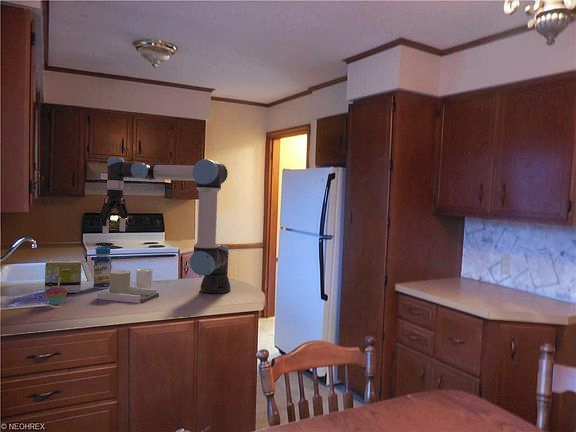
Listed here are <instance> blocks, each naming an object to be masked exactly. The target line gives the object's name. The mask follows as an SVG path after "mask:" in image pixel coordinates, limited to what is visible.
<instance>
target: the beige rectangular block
mask: <svg viewBox="0 0 576 432" xmlns="http://www.w3.org/2000/svg"><path fill="white" fill-rule="evenodd" d="M130 287H131V271H130V270H123V269H121V270H111V272H110V287H109V288H108V289H109V291H108V292H109V293H119V294H130ZM130 295H131V294H130Z"/></svg>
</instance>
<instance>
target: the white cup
mask: <svg viewBox="0 0 576 432" xmlns="http://www.w3.org/2000/svg"><path fill="white" fill-rule="evenodd" d="M153 272H154V270H153V269H152V268H151V269H150V268H141V269H136V270H135V274H136V275H135V276H136V277H135V279H136V280H135V282H136V288H146V289H152V284H153V283H152V282H153V275H154V274H153Z"/></svg>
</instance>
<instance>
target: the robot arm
mask: <svg viewBox="0 0 576 432" xmlns="http://www.w3.org/2000/svg"><path fill="white" fill-rule="evenodd" d="M106 168H107V172H106V173H107V181H106V183H107V184H106V185H107V186H106V188H107V190H106V196H107V198H104V199H103V204H102V207H101V210H100V213H99V219H100V220H101V221H102V233H103V234H109V230H110V229H109V228H110V227H109V226H110V223H109V222H110V221H109V220H110V219H109V217H110V216H111V213H112V211H113V210H114V209H116V210H117V212H118V214H119V216H120V217H119V232H126V219H128V218H129V213H128V208H127V204H126V199H125V198H124V190H123V189H124V185H125V184H124V179H125V178H126V179H127V178H128V179H129V178H131V179H140V180H141V179H142V180H143V179H144V180H148V181H149V180H150V181H151V180H157V181H158V180H161V181H163V180H165V181H188V182H189V181H190V182H191V181H193V182H195V189H196V190H197V191H198V206H197V207H198V212H197V215H198V216H197V238H196V239H197V240H196V241H197V242H195V244H194V245H193V253H192V255H190V257H189V267H190V269H191V271H193V273H194V274H196V275H198V276H203V277H202V281H201V283H200V286H199V287H200V289H199V290H200V292H202V293H205V294H215V295H216V294H224V293H225V294H226V293H229V292H231V289H232V288H231V283H230V280H229V274H228V271H229V270H228V269H229V268H228V267H229V254H230V252H229V247H228V246H226V245H218V244H217V242H216V241H217V218H218V217H217V216H218V215H217V212H218V211H217V210H218V192H220V190H221V188H222V184H223V183H225V181H227V179H228V176H229V175H228V174H229V172H228V169H227V167H226V165H225V164H223V162H220V161H216V160H213V159H210V158H203V159H201V160H199V161H196V163H195V164H194V165H177V164H176V165H169V164H146V163H144V162H137V161H136V162H125V160H124V158H122V157H109V158H108V159H107V166H106Z"/></svg>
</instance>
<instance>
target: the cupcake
mask: <svg viewBox="0 0 576 432" xmlns="http://www.w3.org/2000/svg"><path fill="white" fill-rule="evenodd" d="M60 279H61V278H60V277H59V281H58V287H51V288H49V289H47V290H46V291H45V290H44V296H45V297H46V298H47V301H48V302H49V304H50V305H52V306H53V305H55V306H56V305H61V304H63V302H64V300H65V297H66V296H67V295H68V293H67V290H66V289H65V288H63V287H59V285H60Z"/></svg>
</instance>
